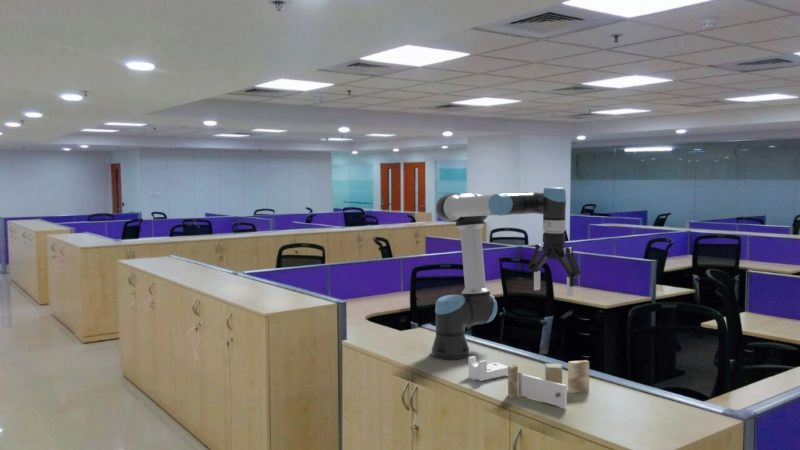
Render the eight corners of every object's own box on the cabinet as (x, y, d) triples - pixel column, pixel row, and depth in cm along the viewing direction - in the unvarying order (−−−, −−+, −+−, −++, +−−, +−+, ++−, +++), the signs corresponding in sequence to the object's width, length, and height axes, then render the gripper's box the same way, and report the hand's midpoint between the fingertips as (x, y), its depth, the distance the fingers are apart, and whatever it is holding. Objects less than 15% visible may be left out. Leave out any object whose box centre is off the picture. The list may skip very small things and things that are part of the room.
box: (545, 401, 191) (545, 366, 190) (544, 396, 195) (544, 362, 194) (562, 402, 190) (562, 367, 189) (561, 397, 194) (561, 363, 193)
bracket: (480, 383, 209) (480, 362, 209) (468, 378, 216) (468, 357, 215) (509, 376, 216) (509, 356, 216) (497, 371, 222) (496, 351, 222)
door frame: (510, 398, 194) (510, 367, 194) (507, 395, 197) (507, 364, 196) (589, 392, 198) (589, 362, 198) (585, 389, 201) (585, 359, 200)
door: (515, 395, 196) (515, 373, 195) (519, 393, 197) (519, 371, 197) (562, 408, 183) (562, 385, 183) (566, 406, 185) (567, 384, 184)
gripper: (518, 230, 217) (517, 288, 218) (579, 235, 198) (578, 299, 200) (531, 228, 221) (530, 286, 223) (592, 234, 202) (590, 296, 204)
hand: (553, 292), depth 211 cm, fingers open, 13 cm apart
